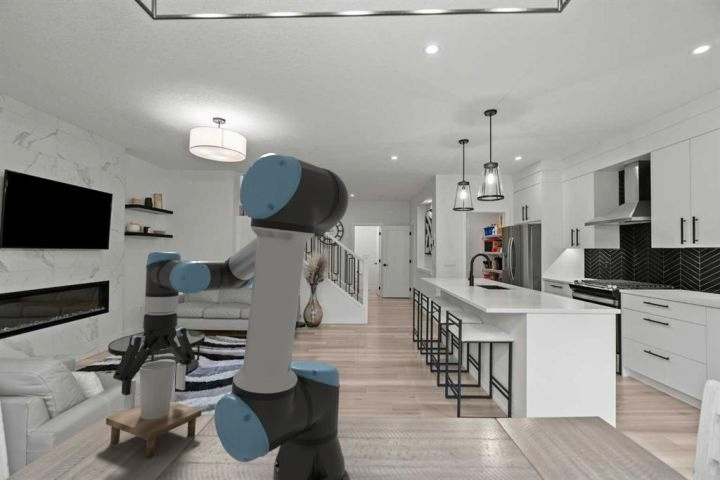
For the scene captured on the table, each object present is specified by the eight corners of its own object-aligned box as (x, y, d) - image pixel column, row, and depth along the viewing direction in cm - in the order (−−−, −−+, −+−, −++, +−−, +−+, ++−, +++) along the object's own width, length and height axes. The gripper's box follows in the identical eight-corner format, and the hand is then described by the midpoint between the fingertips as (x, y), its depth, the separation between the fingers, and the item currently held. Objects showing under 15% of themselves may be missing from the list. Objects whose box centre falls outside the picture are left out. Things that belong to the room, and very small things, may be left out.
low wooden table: (200, 433, 91) (201, 409, 92) (147, 461, 79) (149, 433, 79) (158, 419, 98) (160, 397, 98) (104, 443, 86) (106, 417, 86)
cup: (156, 422, 84) (159, 371, 85) (128, 418, 86) (131, 368, 86) (180, 409, 92) (182, 362, 92) (153, 405, 93) (156, 359, 94)
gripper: (192, 305, 103) (188, 380, 102) (99, 318, 80) (92, 413, 79) (211, 308, 100) (207, 384, 99) (119, 321, 77) (113, 421, 76)
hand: (156, 397), depth 89 cm, fingers open, 13 cm apart
